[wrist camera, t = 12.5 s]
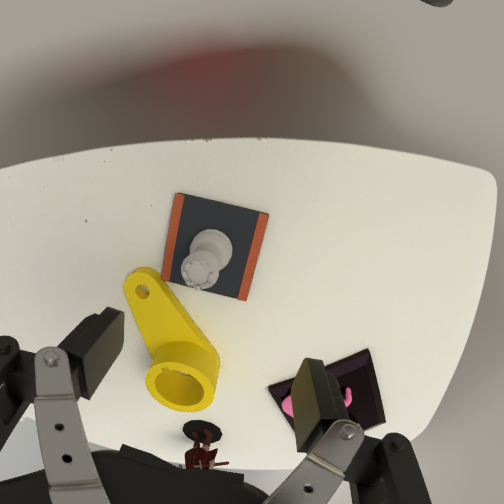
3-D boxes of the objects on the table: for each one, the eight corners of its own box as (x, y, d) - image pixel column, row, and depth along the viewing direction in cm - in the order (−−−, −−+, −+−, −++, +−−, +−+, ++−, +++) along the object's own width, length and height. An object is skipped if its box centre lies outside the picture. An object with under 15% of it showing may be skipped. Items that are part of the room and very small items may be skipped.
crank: (230, 374, 36) (226, 405, 30) (177, 386, 37) (168, 415, 31) (167, 256, 32) (149, 275, 26) (112, 279, 33) (89, 299, 27)
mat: (177, 192, 30) (175, 193, 29) (268, 213, 30) (269, 215, 29) (163, 277, 32) (161, 279, 31) (246, 297, 33) (246, 301, 32)
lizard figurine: (309, 450, 42) (313, 482, 34) (268, 385, 37) (269, 423, 30) (385, 422, 40) (397, 452, 33) (367, 347, 35) (386, 381, 28)
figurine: (208, 416, 39) (194, 495, 24) (231, 440, 41) (225, 513, 26) (175, 424, 40) (155, 496, 25) (198, 446, 42) (186, 514, 27)
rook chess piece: (227, 272, 31) (218, 306, 24) (188, 262, 31) (167, 292, 23) (237, 234, 30) (230, 256, 22) (196, 223, 30) (176, 242, 22)
